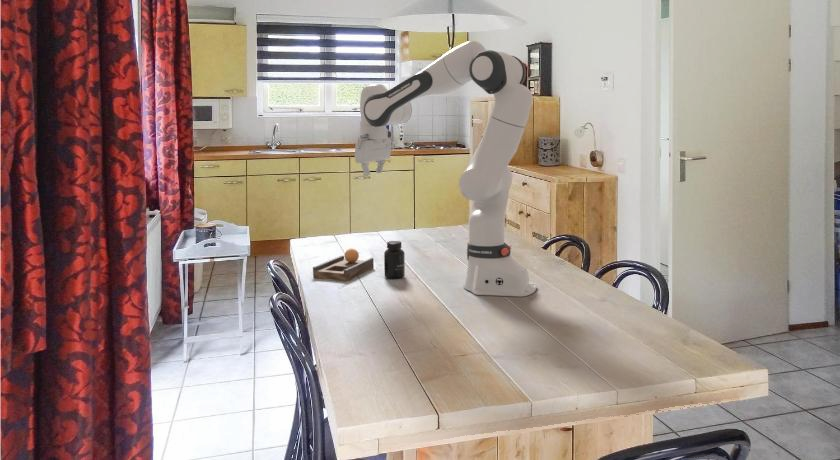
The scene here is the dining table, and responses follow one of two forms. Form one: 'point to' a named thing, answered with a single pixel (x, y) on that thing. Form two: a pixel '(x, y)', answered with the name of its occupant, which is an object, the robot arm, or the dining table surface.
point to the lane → (342, 269)
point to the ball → (351, 255)
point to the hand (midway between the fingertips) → (373, 174)
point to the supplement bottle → (394, 260)
